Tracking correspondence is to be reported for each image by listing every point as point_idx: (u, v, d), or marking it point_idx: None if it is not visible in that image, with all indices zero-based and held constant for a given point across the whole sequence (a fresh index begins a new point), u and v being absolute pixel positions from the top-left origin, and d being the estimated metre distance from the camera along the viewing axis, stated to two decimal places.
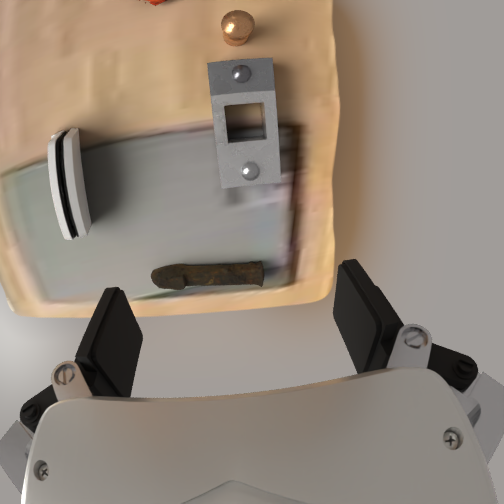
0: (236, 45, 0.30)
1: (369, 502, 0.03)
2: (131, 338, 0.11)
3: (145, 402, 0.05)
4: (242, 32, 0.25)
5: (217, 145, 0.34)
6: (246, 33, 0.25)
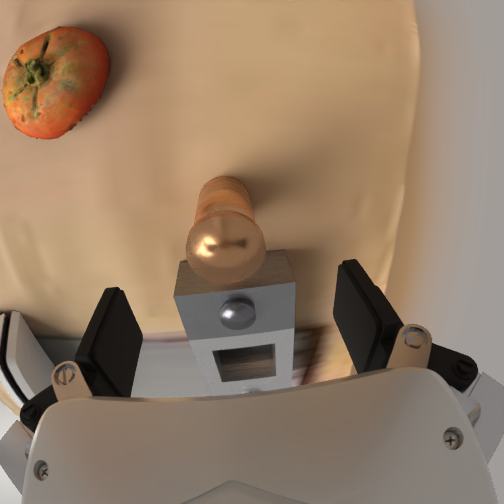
0: None
1: (369, 502, 0.03)
2: (131, 338, 0.11)
3: (145, 402, 0.05)
4: (236, 274, 0.14)
5: (207, 383, 0.24)
6: (246, 275, 0.14)
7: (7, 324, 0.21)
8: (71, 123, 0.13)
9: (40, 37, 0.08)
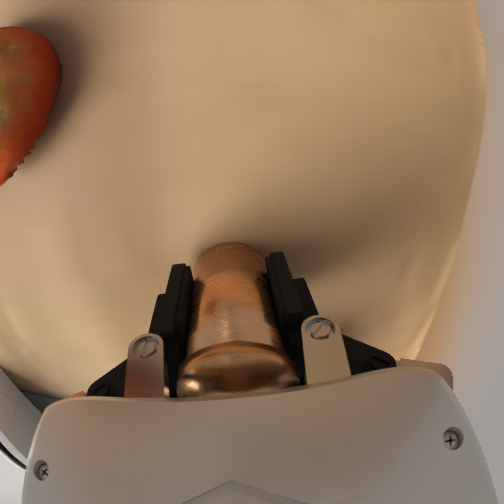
0: None
1: (369, 502, 0.03)
2: None
3: (145, 402, 0.05)
4: None
5: None
6: None
7: None
8: (9, 169, 0.08)
9: None
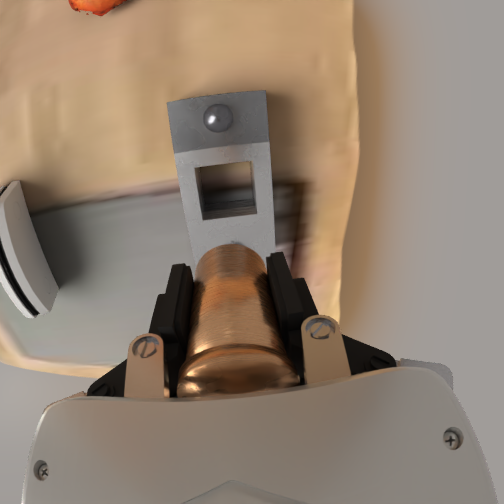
0: None
1: (369, 502, 0.03)
2: None
3: (145, 402, 0.05)
4: None
5: (188, 223, 0.25)
6: None
7: (5, 191, 0.23)
8: (115, 3, 0.15)
9: None
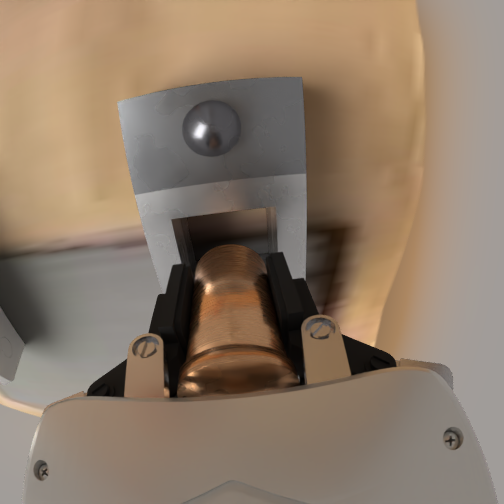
0: None
1: (369, 502, 0.03)
2: None
3: (145, 402, 0.05)
4: None
5: None
6: None
7: None
8: None
9: None
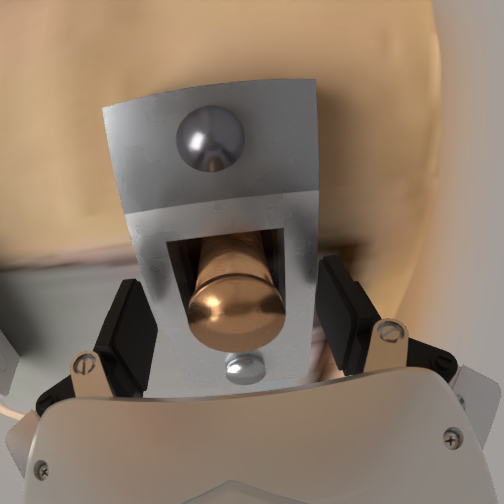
0: None
1: (369, 502, 0.03)
2: (147, 329, 0.11)
3: (145, 402, 0.05)
4: (249, 343, 0.11)
5: (165, 329, 0.14)
6: (261, 344, 0.11)
7: None
8: None
9: None
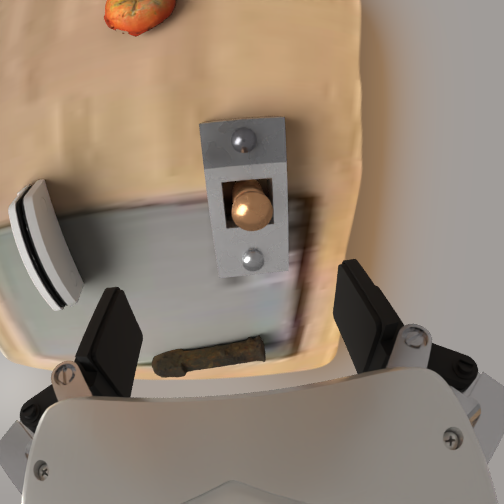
0: None
1: (369, 502, 0.03)
2: (131, 338, 0.11)
3: (145, 402, 0.05)
4: (257, 225, 0.27)
5: (213, 231, 0.29)
6: (262, 226, 0.27)
7: (30, 189, 0.26)
8: (150, 25, 0.20)
9: None
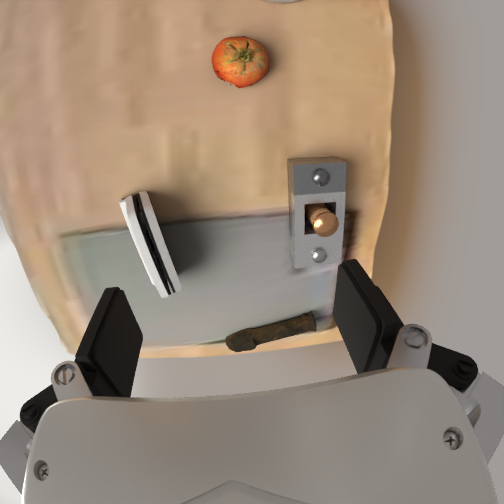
0: None
1: (369, 502, 0.03)
2: (131, 338, 0.11)
3: (145, 402, 0.05)
4: (328, 233, 0.40)
5: (295, 236, 0.43)
6: (331, 233, 0.40)
7: (135, 199, 0.40)
8: (253, 82, 0.33)
9: (242, 39, 0.28)
